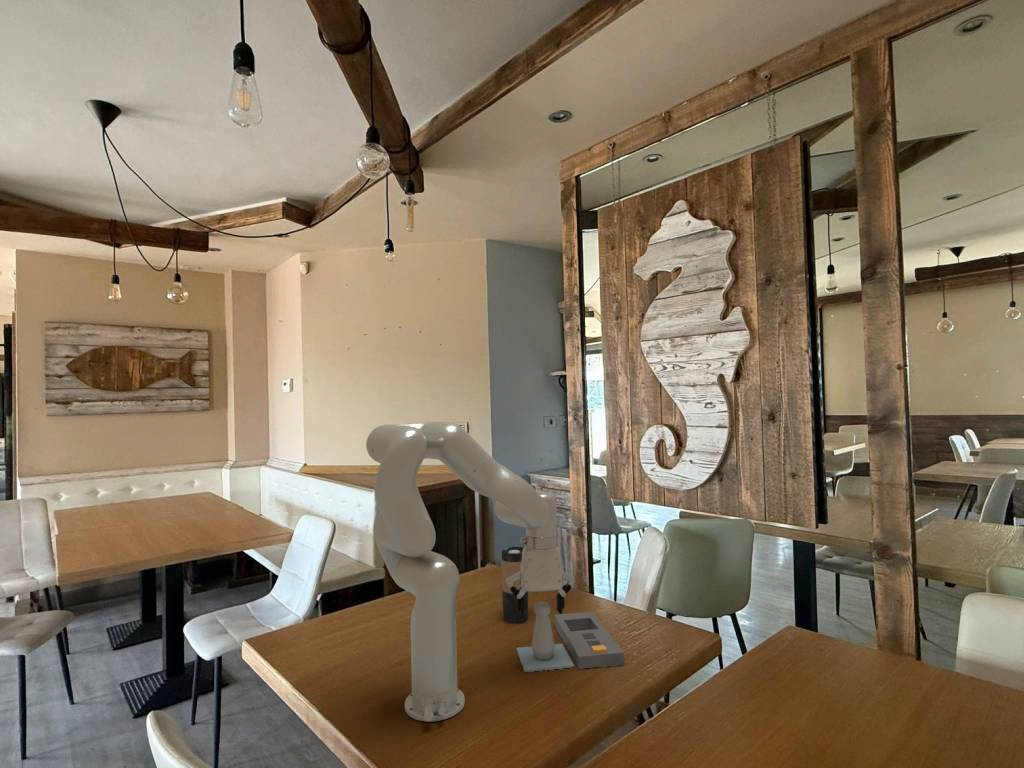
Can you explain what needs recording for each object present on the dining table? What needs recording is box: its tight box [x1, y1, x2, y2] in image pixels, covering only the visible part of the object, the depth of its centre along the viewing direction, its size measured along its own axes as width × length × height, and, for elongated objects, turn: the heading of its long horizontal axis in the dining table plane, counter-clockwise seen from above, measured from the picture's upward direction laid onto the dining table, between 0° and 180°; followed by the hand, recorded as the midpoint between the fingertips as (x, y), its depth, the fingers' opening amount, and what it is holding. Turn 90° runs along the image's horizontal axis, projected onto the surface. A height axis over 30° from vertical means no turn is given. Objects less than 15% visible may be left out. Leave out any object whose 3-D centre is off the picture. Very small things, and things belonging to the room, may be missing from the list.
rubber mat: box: [515, 643, 575, 673], centre depth 137 cm, size 12×12×1 cm
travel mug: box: [501, 546, 529, 625], centre depth 163 cm, size 8×8×20 cm
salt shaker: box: [531, 601, 556, 660], centre depth 137 cm, size 6×6×13 cm
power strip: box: [553, 611, 625, 670], centre depth 145 cm, size 26×11×4 cm, turn 9°
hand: (540, 612), depth 137 cm, fingers open, 9 cm apart
